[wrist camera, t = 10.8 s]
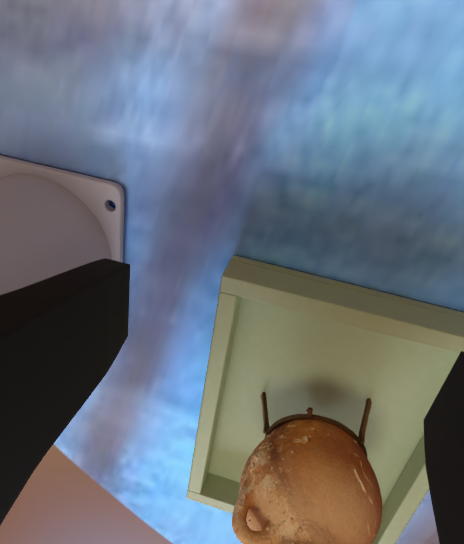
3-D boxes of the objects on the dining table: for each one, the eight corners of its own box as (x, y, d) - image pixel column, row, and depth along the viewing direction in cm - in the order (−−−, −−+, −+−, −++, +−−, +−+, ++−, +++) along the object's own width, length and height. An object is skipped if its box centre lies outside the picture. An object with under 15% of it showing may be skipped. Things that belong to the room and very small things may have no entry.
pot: (382, 452, 23) (369, 365, 20) (396, 639, 16) (379, 555, 13) (274, 449, 25) (246, 369, 22) (248, 615, 18) (202, 537, 15)
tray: (380, 528, 26) (383, 563, 24) (196, 469, 27) (186, 498, 26) (501, 321, 18) (517, 351, 16) (233, 254, 19) (221, 275, 18)
